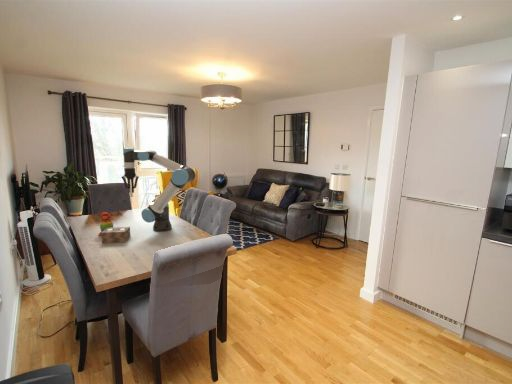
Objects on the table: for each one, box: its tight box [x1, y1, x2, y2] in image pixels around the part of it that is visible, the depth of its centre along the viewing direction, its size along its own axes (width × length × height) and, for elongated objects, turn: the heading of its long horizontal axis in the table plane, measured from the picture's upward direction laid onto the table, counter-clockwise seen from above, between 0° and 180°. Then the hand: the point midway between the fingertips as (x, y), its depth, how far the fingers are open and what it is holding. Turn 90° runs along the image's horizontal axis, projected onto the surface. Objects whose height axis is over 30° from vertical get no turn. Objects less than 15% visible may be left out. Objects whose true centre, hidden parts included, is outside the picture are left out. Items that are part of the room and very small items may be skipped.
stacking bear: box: [98, 211, 114, 237], centre depth 210 cm, size 11×10×18 cm
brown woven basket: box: [100, 226, 131, 244], centre depth 198 cm, size 16×12×8 cm
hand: (131, 196), depth 213 cm, fingers closed
